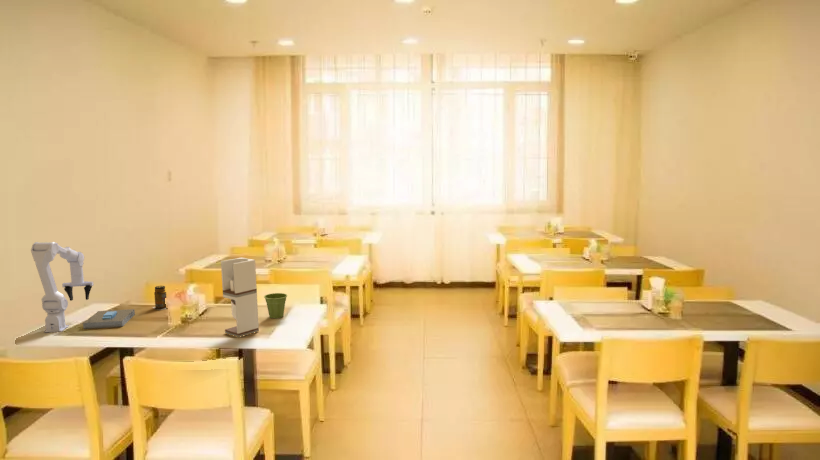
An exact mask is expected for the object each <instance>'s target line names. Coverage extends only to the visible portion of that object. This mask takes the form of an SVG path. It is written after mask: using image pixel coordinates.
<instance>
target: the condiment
mask: <svg viewBox="0 0 820 460" xmlns="http://www.w3.org/2000/svg"><path fill="white" fill-rule="evenodd" d="M153 293H154V306H152V308H153V309H154V310H156V311H161V310H167V309H166V304H165V298H167V291H166V286H165V285H156V286H155V287H154V292H153Z"/></svg>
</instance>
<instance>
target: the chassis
mask: <svg viewBox="0 0 820 460" xmlns="http://www.w3.org/2000/svg"><path fill="white" fill-rule="evenodd" d="M112 311H117V313H116V315H115V316H114V317H113V318H110V319H102V318H103V315H104V314H105V313H107V312H112ZM135 311H136V310H135V308H129V309H114V310H99V311H96V312H95V313H94V314H93V315H91V316H90V317H89V318H88V319H87V320H85V321H84V322H83V323H82V326H83V330H89V329H90V330H91V329H103V328H104V329H105V328H107V329H108V328H109V329H110V328H123V327H124V326H125V325H126V324H127V323H128V322H129V321H130V320H131V319H132V318H133V317H134V316H135V315H136V314H135V313H136V312H135Z"/></svg>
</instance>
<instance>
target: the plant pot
mask: <svg viewBox="0 0 820 460" xmlns="http://www.w3.org/2000/svg"><path fill="white" fill-rule="evenodd" d="M287 297H288V294H287V293H282V292H275V293H268V294H265V295H264V296H263V298H264V299H265V300H264V301H265V303H266V306H267V307H266V308H267V312H268V317H269V318H270V319H281V318H283V317H284V314H285V307H286V302H287Z"/></svg>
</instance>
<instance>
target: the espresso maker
mask: <svg viewBox="0 0 820 460" xmlns="http://www.w3.org/2000/svg"><path fill="white" fill-rule="evenodd" d="M220 268H221V271H220V272H221V283H222V286H221V287H222V298H225V299H229V300H230V301H231V302H230V303H231V315H232V318H233V319H235V320H236V326H232V327H229V328H226V329H225V330H224V334H225V333H227V334H226V335H228V334H230V335H229V336H231V335H234V336H237V337H240V336H243V335H247V334H250V333H253V334H255V333H254V332H257V331H259V329H260V327H259V310H258V309H259V308H258V293H257V292H258V291H257V289H258V287H257V271H256V269H257V268H256V259H251V258H246V257H237V258H233V259H232V258H231V259H226V260H220ZM259 332H260V331H259ZM257 333H258V332H257ZM250 335H251V334H250ZM234 336H233V337H234ZM247 336H248V335H247ZM237 337H236V338H237ZM243 337H244V336H243ZM240 338H241V337H240Z"/></svg>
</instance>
